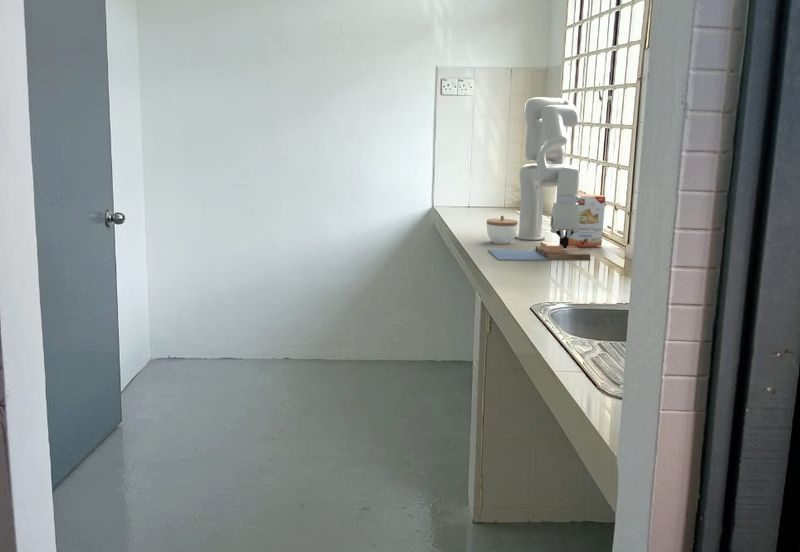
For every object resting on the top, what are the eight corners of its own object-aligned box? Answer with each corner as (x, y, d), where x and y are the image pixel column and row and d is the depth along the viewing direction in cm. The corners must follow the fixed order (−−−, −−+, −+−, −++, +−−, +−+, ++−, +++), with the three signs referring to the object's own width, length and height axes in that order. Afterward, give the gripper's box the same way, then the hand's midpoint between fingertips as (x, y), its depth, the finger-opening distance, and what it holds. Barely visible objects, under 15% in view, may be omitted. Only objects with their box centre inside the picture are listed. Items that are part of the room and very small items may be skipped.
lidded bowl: (515, 245, 325) (516, 218, 323) (484, 244, 327) (485, 217, 325) (517, 240, 337) (518, 214, 335) (487, 239, 339) (488, 213, 337)
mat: (487, 250, 312) (487, 249, 312) (533, 250, 313) (534, 249, 313) (498, 260, 292) (498, 259, 292) (547, 260, 294) (547, 259, 294)
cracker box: (567, 247, 323) (571, 195, 319) (564, 244, 329) (567, 194, 325) (602, 247, 324) (605, 196, 319) (597, 245, 330) (601, 194, 325)
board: (535, 251, 313) (535, 246, 312) (575, 251, 314) (575, 246, 314) (547, 259, 295) (548, 254, 295) (590, 259, 296) (590, 254, 296)
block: (540, 248, 307) (540, 241, 307) (555, 248, 308) (556, 241, 308) (547, 252, 299) (547, 245, 298) (562, 252, 299) (563, 245, 299)
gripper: (582, 198, 305) (579, 246, 308) (544, 198, 303) (541, 246, 307) (589, 201, 297) (585, 249, 301) (549, 200, 296) (547, 249, 299)
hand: (563, 247), depth 304 cm, fingers closed
